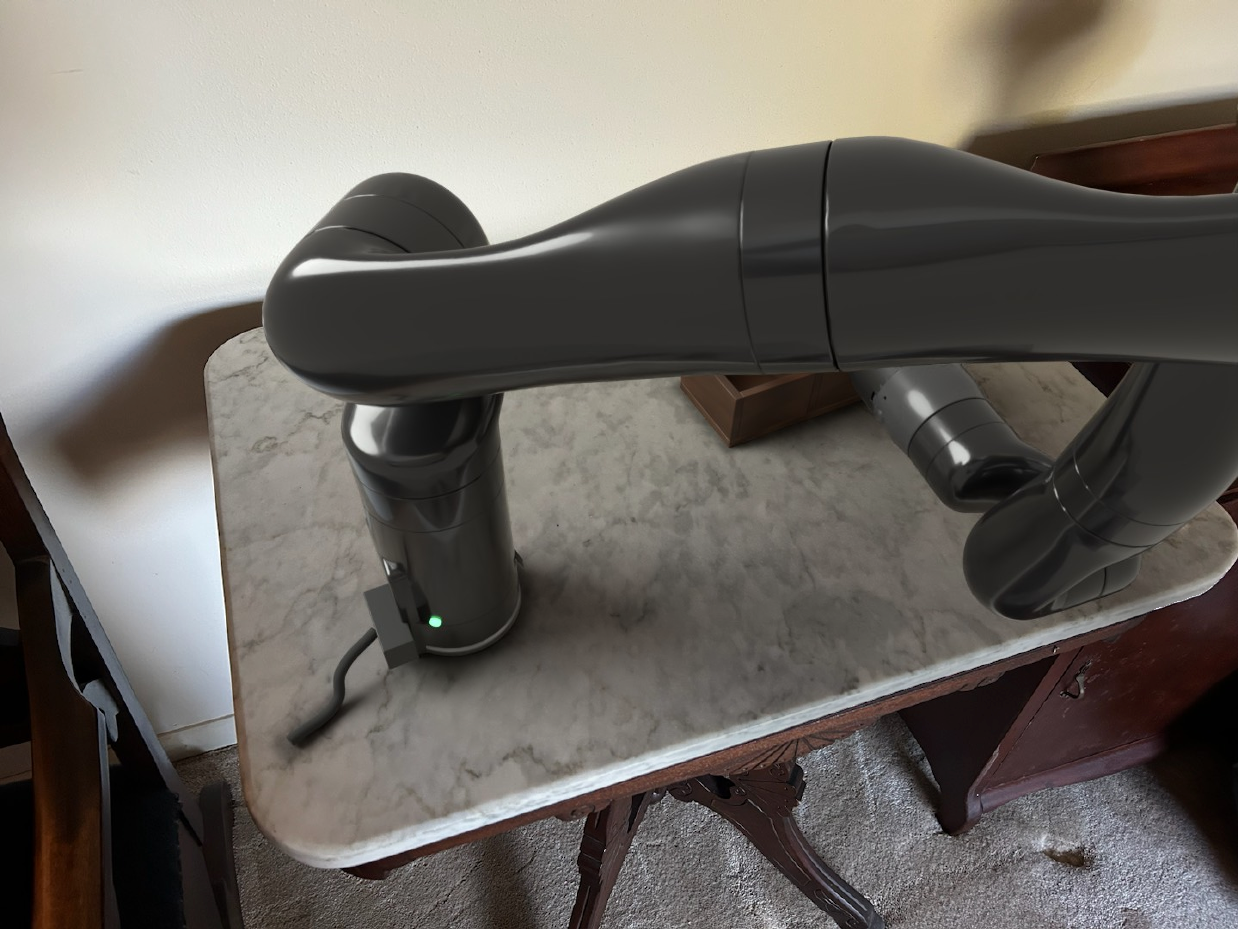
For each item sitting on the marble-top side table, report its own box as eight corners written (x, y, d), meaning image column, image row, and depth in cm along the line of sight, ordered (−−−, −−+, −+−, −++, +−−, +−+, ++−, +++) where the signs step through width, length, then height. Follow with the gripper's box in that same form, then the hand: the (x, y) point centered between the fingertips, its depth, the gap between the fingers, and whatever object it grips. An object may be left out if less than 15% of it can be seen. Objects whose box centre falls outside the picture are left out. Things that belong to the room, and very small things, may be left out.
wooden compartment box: (728, 447, 76) (736, 400, 72) (679, 387, 82) (683, 339, 77) (882, 392, 82) (897, 345, 77) (826, 339, 87) (838, 292, 83)
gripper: (1015, 341, 65) (908, 231, 75) (848, 373, 62) (761, 254, 72) (983, 412, 70) (887, 301, 81) (827, 445, 67) (750, 324, 78)
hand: (828, 279), depth 77 cm, fingers open, 8 cm apart
